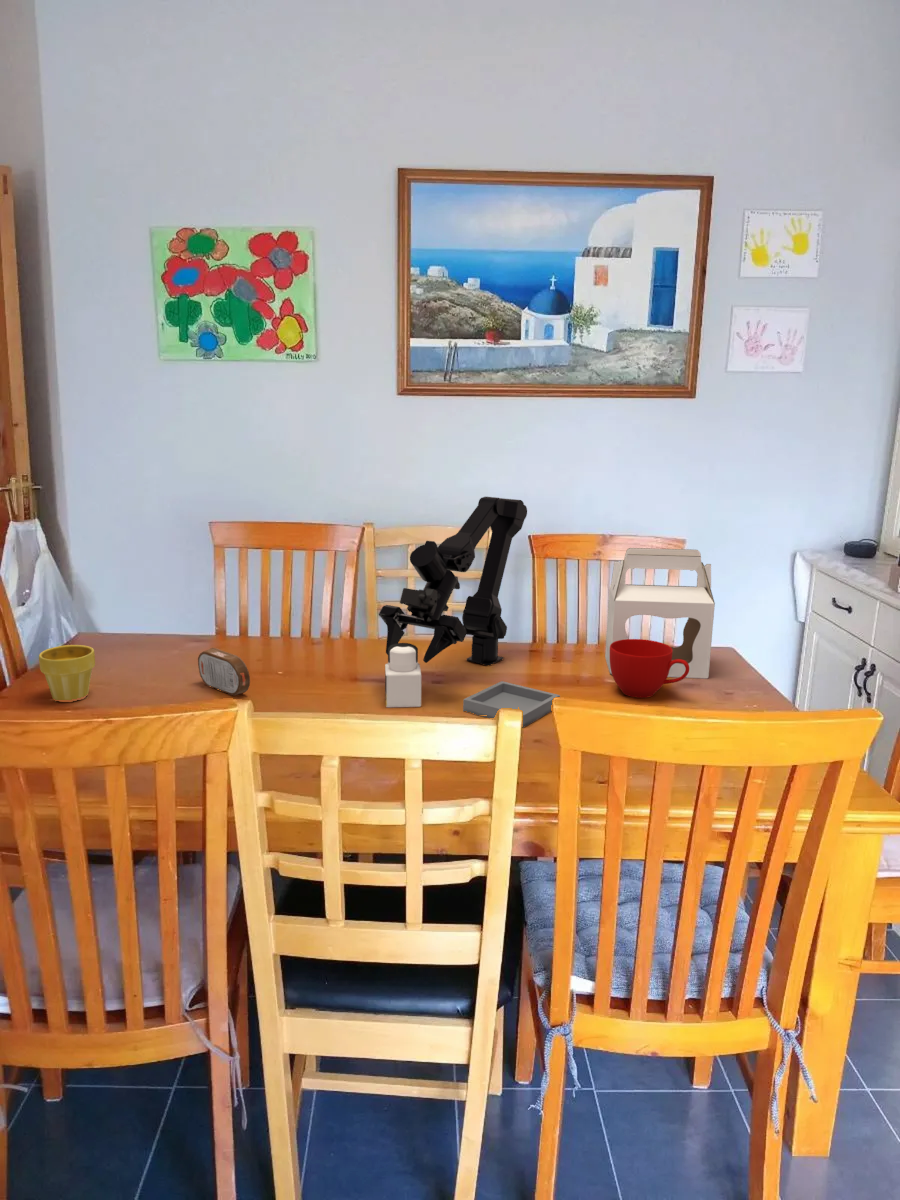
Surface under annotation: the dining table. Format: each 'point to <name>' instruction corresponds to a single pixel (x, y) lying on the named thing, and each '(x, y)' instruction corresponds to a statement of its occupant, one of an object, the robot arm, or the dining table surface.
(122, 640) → the dining table surface
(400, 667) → the medicine bottle
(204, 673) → the tin
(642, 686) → the ceramic cup
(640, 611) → the gable box
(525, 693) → the slate tray
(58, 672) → the plant pot
